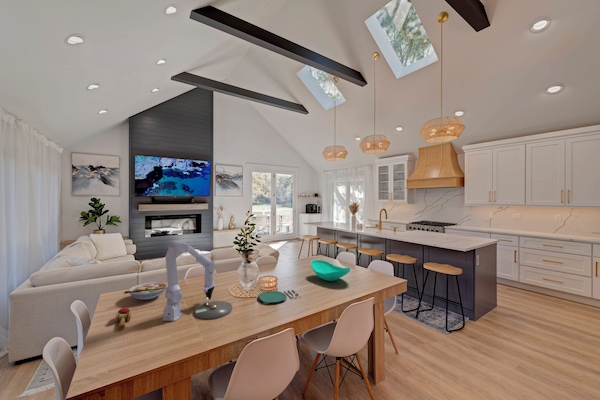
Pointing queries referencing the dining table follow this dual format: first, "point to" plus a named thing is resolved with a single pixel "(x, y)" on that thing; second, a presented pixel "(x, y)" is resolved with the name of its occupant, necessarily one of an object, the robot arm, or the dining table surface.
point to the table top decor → (328, 270)
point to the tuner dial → (213, 310)
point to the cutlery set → (273, 297)
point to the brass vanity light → (208, 304)
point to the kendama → (123, 317)
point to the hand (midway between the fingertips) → (208, 298)
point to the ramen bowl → (147, 290)
